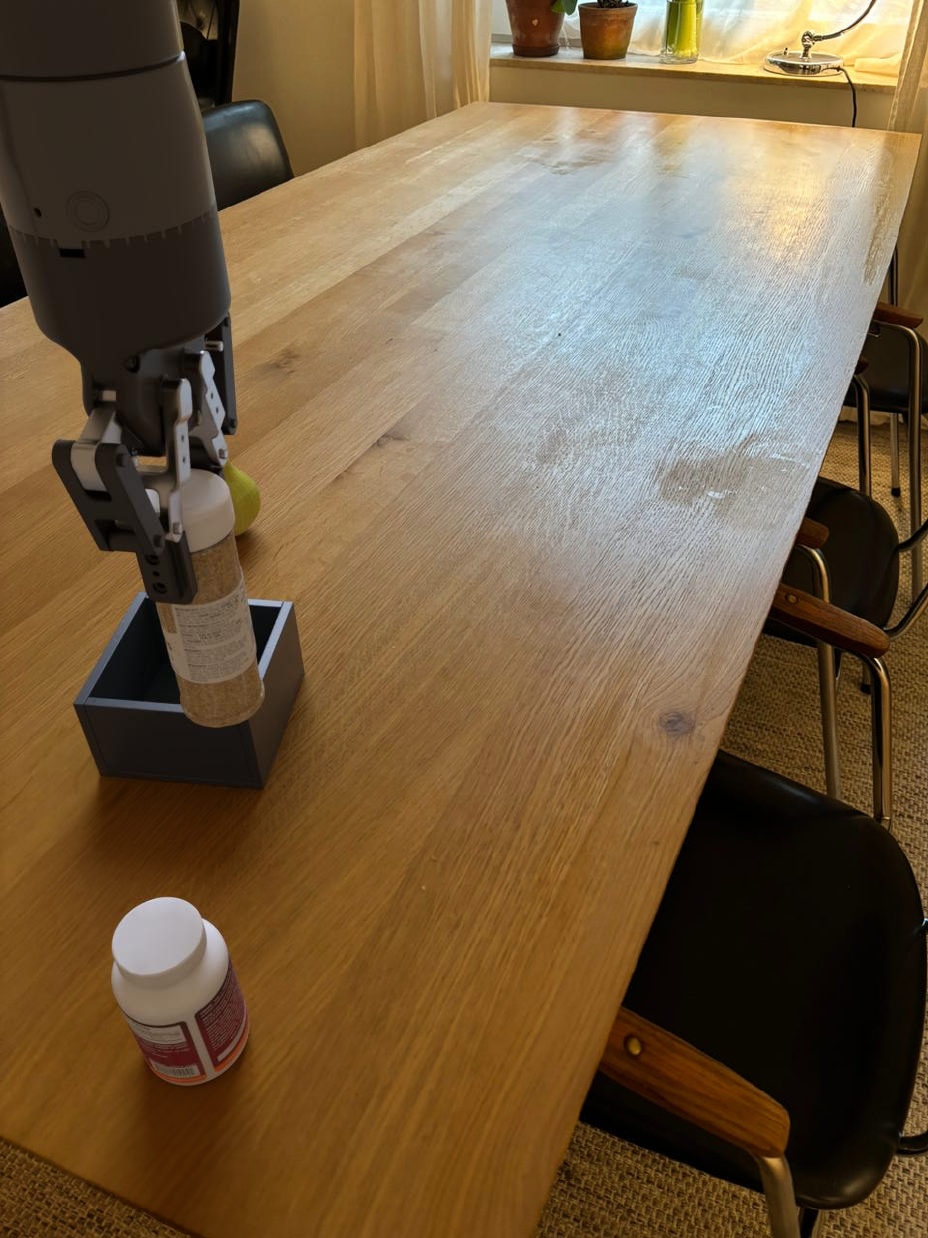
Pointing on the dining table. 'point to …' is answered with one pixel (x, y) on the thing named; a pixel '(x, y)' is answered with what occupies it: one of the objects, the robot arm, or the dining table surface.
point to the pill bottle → (178, 991)
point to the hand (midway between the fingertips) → (193, 563)
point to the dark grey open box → (153, 717)
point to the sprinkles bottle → (212, 613)
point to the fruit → (242, 497)
